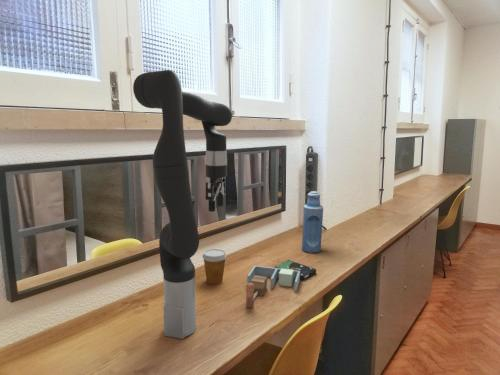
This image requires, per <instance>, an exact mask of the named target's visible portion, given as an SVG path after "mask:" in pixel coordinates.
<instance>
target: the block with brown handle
mask: <svg viewBox="0 0 500 375" xmlns="http://www.w3.org/2000/svg"><path fill="white" fill-rule="evenodd" d="M245 285H246V286H245V287H246V289H245V290H246V291H245V292H246V293H245V307H246V308H247V309H252V308H254V302H255V299H256V297H257V296H258V295H259V296H264V295H265V293H266V292H267V289H268V277H264V276H257V275H254V277H253V278H252V279H251V283H246V284H245Z"/></svg>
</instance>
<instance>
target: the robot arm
mask: <svg viewBox="0 0 500 375" xmlns="http://www.w3.org/2000/svg"><path fill="white" fill-rule="evenodd" d="M132 89H133V90H132V91H133V94H134V97H135V99H136V101H137V102H138V103H139V104H140V105H141V106H142V107H144V108H148V109H160V110H161V114H162V130H161V133H160V136H159V139H158V141H157V143H156V146H155V149H154V152H153V155H152V165H153V166H152V167H153V174H154V180H155V184H156V187H157V190H158V192H159V195H160V196H161V199H162V201H163V203H164V205H165V208H166V210H167V214H168V218H169V219H168V220H169V222H168V223H166V224H165V225H164V226H163V227H162V229H161V231H160V235H159V241H158V244H159V245H158V246H159V260H160V261H159V262H160V267H161V271H162V274H163V276H162V277H163V304H164V305H163V333H164V334H163V335H164V336H165V337H170V338H176V339H180V340H184V339H185V338H186V337H188V336H190V335H193V333H194V332H195V331H196V330H197V329H196V326H197V325H196V322H197V321H196V315H197V314H196V313H197V312H196V266H195V265H194V263H193V262H192V260H191V258H193V256H194V255H196V253H197V251H198V249H199V246H200V235H199V231H198V230H199V229H198V226H197V225H198V224H197V222H196V217H195V213H194V207H193V201H192V200H193V199H192V191H191V183H190V172H189V164H188V158H187V157H188V156H187V151H186V142H185V130H184V116H187V117H190V118H192V119H195V120H197V121H200V123H201V125H202V128H203V131H204V136H205V149H206V150H205V157H204V158H205V165H204V167H205V177H206V178H208V179H209V182H205V200H206V201H208V212H212V213H213V212H215V211H216V205H217V207H223V206H224V196H225V194H226V193H227V184H226V183H227V179H226V178H227V176H228V154H227V136H226V134H224V133H221V132H219V131H217V129H216V127H226V126H228V125H229V124H231V122H232V119H233V113H232V110H231V108H230V107H229V106H227V104H224V103H221V102H216V101H211V100H209V99H207V98H205V97H203V96H201V95H197V94H195V93H191V92H185V91H183V90H182V84H181V81H180V78H179V76H178V75H177V74H176V72H175V71H173V70H171V69H165V70H156V71H147V72H144V73H141V74H139V75H137V76H136V77H135V79H134V81H133V84H132Z"/></svg>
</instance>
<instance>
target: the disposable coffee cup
mask: <svg viewBox="0 0 500 375" xmlns="http://www.w3.org/2000/svg"><path fill="white" fill-rule="evenodd" d="M227 257H228V256H227V254H226V251H225V250H223V249H221V248H210V249H206V250H204V251H203V254H202V260H203V263H204V270H205V271H204V272H205V277H206V283H207V284H210V285H219V284H222V283H223V278H224V270H225V265H226V264H225V263H226V259H227Z"/></svg>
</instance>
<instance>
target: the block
mask: <svg viewBox="0 0 500 375" xmlns="http://www.w3.org/2000/svg"><path fill="white" fill-rule="evenodd" d="M293 272H294V270H290V269H282V268H281V270H280V272H279V278H278V286H282V287H293V283H294V280H293Z"/></svg>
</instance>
